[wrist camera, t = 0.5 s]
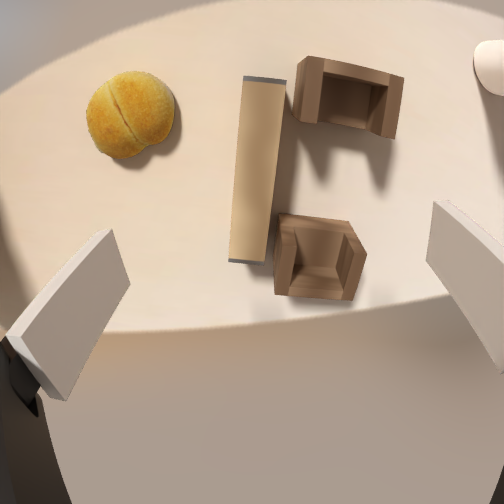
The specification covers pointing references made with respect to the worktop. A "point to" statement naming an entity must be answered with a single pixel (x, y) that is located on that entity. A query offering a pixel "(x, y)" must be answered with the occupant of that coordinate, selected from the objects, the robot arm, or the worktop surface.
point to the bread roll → (130, 114)
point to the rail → (255, 167)
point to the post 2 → (316, 258)
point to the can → (490, 65)
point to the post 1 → (347, 95)
